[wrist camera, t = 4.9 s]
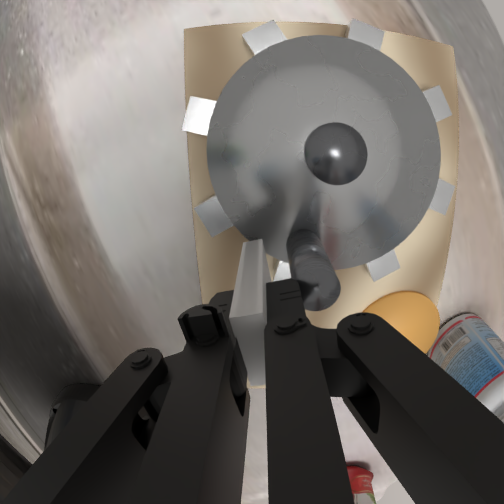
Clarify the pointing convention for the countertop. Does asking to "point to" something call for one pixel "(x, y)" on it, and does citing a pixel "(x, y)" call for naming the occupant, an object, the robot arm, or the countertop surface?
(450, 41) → the countertop surface
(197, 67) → the board
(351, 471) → the liquor
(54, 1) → the countertop surface
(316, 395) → the robot arm
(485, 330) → the pill bottle
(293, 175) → the sprocket disc
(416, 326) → the seat pad
